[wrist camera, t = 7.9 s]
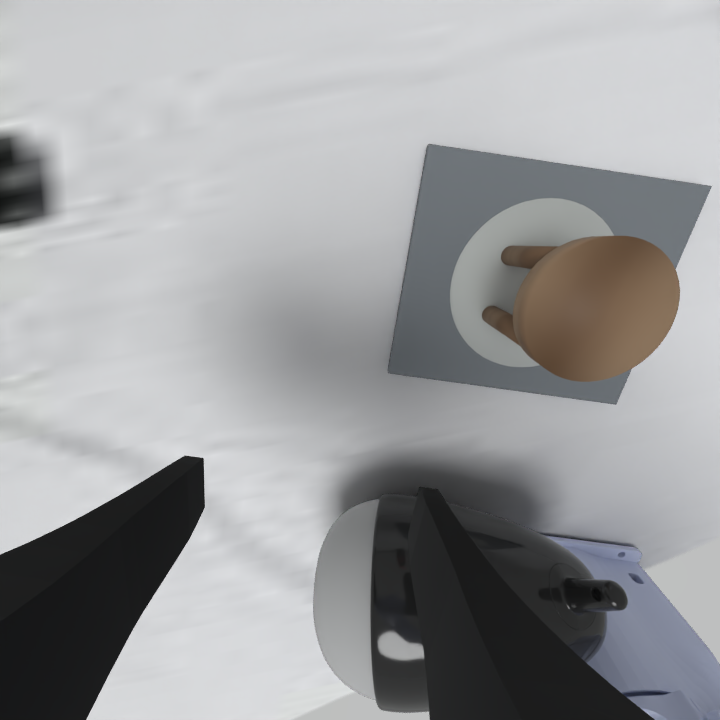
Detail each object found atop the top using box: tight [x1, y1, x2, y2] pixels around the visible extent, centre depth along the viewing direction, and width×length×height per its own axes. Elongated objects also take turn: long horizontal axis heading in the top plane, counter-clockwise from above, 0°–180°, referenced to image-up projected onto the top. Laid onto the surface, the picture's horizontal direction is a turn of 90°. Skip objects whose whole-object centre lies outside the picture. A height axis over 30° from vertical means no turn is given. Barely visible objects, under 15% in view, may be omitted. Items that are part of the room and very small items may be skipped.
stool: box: [482, 236, 680, 382], centre depth 15 cm, size 6×6×6 cm
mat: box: [388, 144, 712, 404], centre depth 18 cm, size 14×12×1 cm
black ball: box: [313, 494, 628, 713], centre depth 19 cm, size 10×10×15 cm
